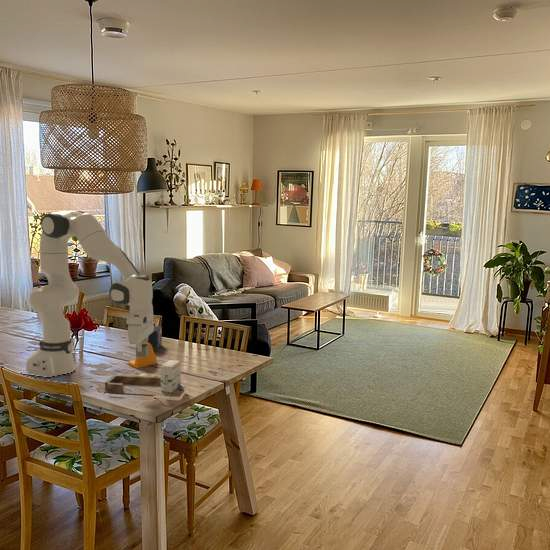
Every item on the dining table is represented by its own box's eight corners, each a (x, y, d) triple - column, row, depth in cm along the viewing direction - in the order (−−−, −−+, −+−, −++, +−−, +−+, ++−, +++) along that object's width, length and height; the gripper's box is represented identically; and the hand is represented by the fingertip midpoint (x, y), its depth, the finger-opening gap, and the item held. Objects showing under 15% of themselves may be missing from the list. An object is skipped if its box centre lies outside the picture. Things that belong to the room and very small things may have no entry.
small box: (157, 351, 274) (157, 330, 272) (144, 350, 274) (144, 330, 272) (162, 345, 284) (162, 325, 283) (150, 345, 284) (149, 325, 283)
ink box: (170, 386, 226) (169, 359, 224) (181, 388, 224) (180, 360, 222) (160, 393, 217) (159, 365, 216) (171, 395, 216) (171, 366, 214)
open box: (103, 393, 217) (103, 383, 216) (114, 383, 227) (114, 374, 227) (153, 396, 215) (152, 386, 214) (161, 386, 226) (161, 377, 225)
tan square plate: (135, 381, 231) (135, 378, 230) (140, 375, 238) (140, 373, 237) (151, 382, 230) (151, 379, 230) (156, 376, 237) (156, 374, 237)
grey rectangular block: (136, 356, 217) (135, 341, 216) (139, 353, 221) (139, 338, 220) (145, 356, 216) (145, 342, 215) (149, 353, 220) (148, 339, 219)
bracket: (147, 362, 257) (146, 337, 255) (156, 365, 252) (156, 340, 250) (127, 367, 248) (127, 341, 246) (137, 371, 244) (136, 345, 242)
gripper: (142, 309, 227) (143, 341, 229) (124, 320, 206) (125, 356, 209) (157, 309, 226) (157, 342, 228) (140, 321, 206) (141, 357, 208)
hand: (142, 349), depth 218 cm, fingers closed on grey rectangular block, 4 cm apart
